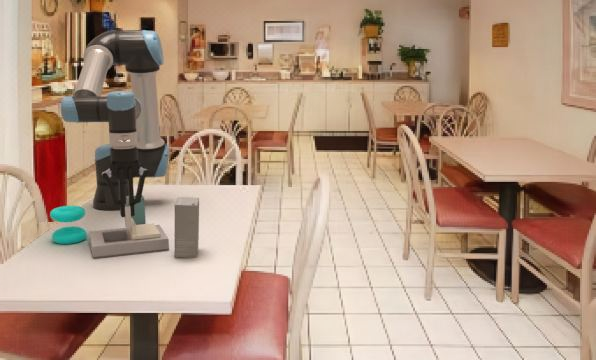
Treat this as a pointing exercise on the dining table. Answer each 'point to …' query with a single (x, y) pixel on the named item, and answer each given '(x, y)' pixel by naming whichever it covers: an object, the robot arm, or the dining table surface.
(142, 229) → the shutter
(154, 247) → the socket plate
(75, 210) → the donuts
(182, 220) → the skincare box
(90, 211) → the dining table surface
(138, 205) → the green rectangular box
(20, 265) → the dining table surface
